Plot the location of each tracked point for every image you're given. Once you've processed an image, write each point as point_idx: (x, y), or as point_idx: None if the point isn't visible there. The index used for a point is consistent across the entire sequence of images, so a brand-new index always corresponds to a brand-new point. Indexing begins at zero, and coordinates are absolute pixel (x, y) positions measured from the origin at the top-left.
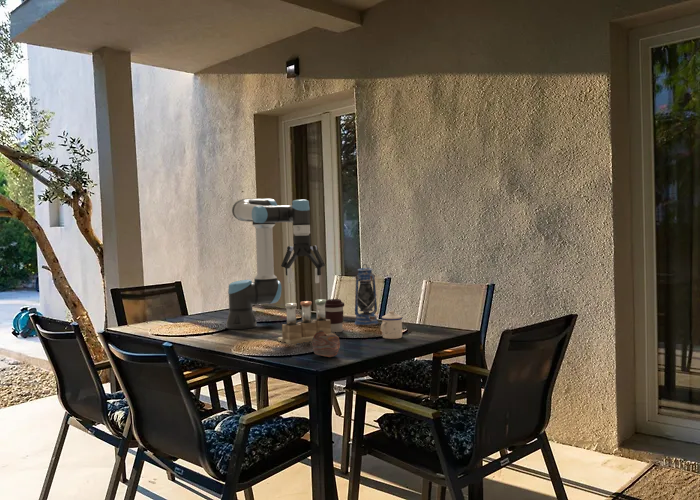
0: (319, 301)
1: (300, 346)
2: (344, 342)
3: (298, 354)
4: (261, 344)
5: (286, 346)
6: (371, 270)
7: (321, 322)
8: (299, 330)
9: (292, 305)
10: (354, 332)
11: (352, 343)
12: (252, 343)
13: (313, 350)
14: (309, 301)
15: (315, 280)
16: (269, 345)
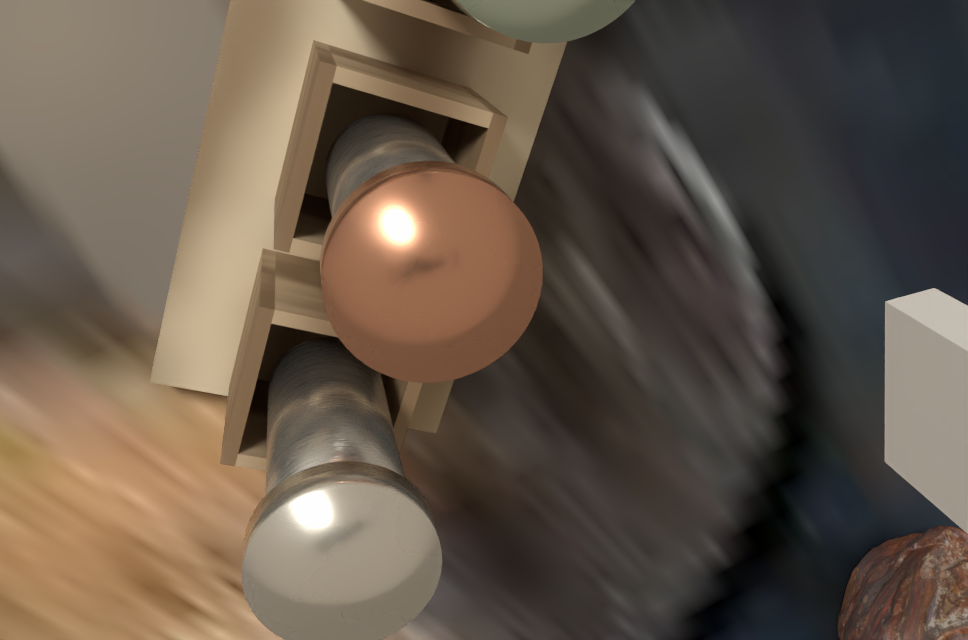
0: (592, 31)
1: (540, 435)
2: (821, 105)
3: (691, 622)
4: (148, 550)
5: (427, 494)
6: None
7: None
8: None
9: (422, 595)
10: None
11: (908, 111)
12: (25, 564)
13: (838, 635)
14: (458, 202)
15: (944, 504)
16: None
